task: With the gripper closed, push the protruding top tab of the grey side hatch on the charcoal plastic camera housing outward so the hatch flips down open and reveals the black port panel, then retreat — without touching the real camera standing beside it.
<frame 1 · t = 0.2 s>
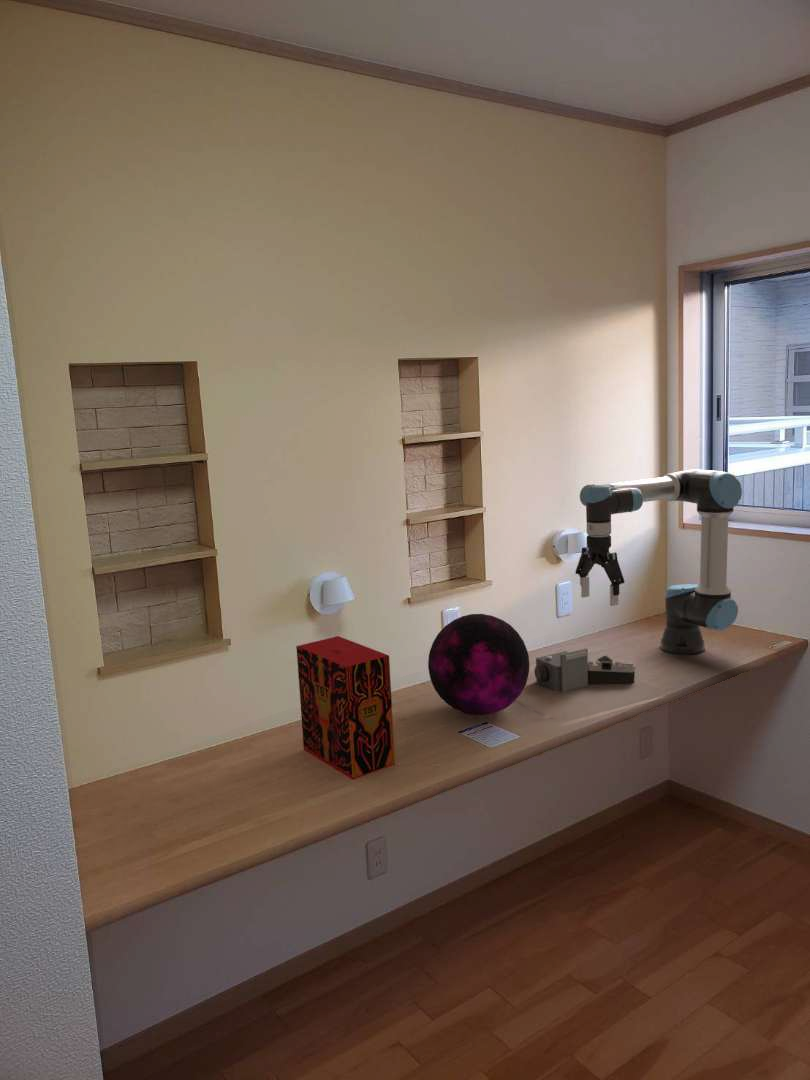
hand: (599, 600, 280), 28 cm above the counter, fingers open, 13 cm apart
housing: (561, 685, 286), on the counter
side door: (574, 671, 279), point 7 cm above the counter, hinge at 0.0°
box: (348, 757, 239), on the counter
purple mottled sphere: (480, 712, 267), on the counter
camera: (608, 686, 286), on the counter, touching housing
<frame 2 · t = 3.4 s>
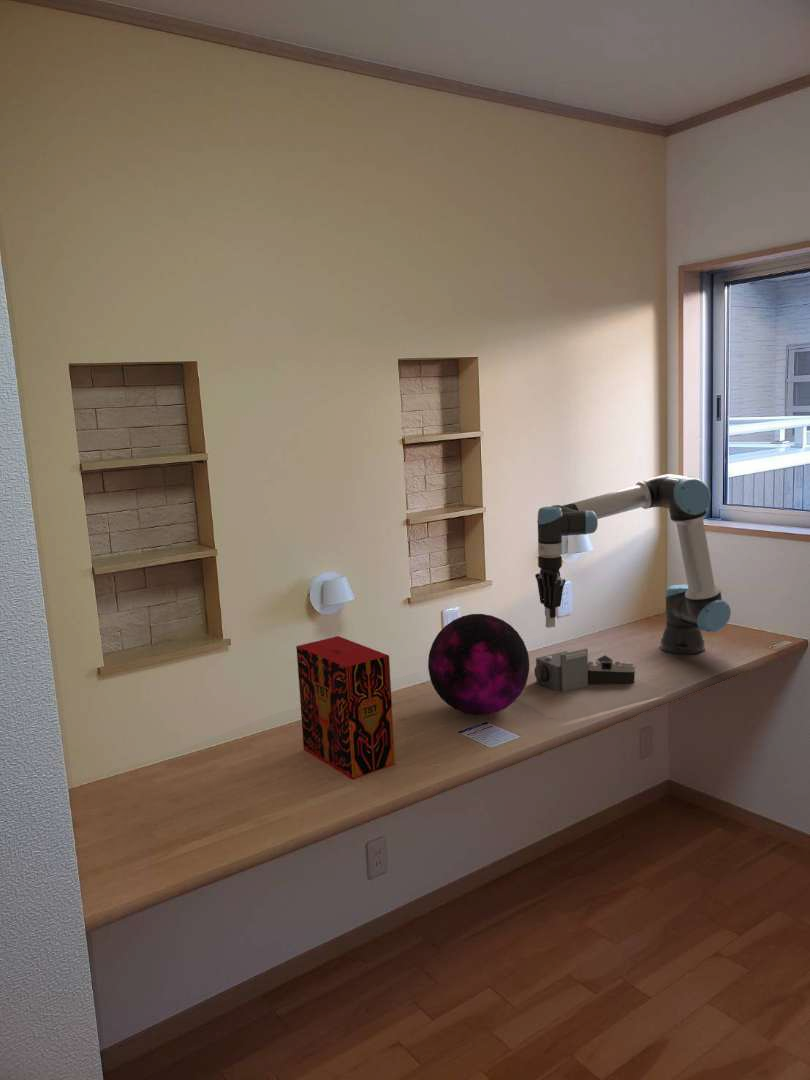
hand: (550, 626, 286), 19 cm above the counter, fingers closed
nothing on the counter moved.
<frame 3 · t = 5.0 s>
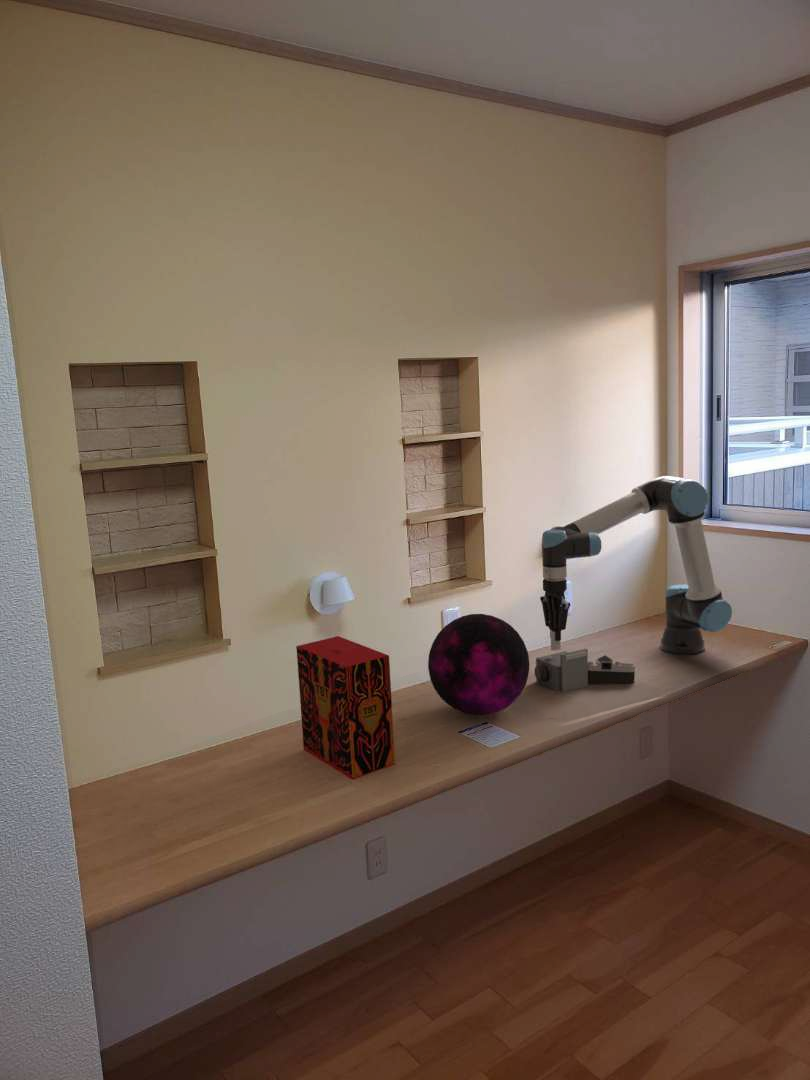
hand: (555, 649, 286), 11 cm above the counter, fingers closed
nothing on the counter moved.
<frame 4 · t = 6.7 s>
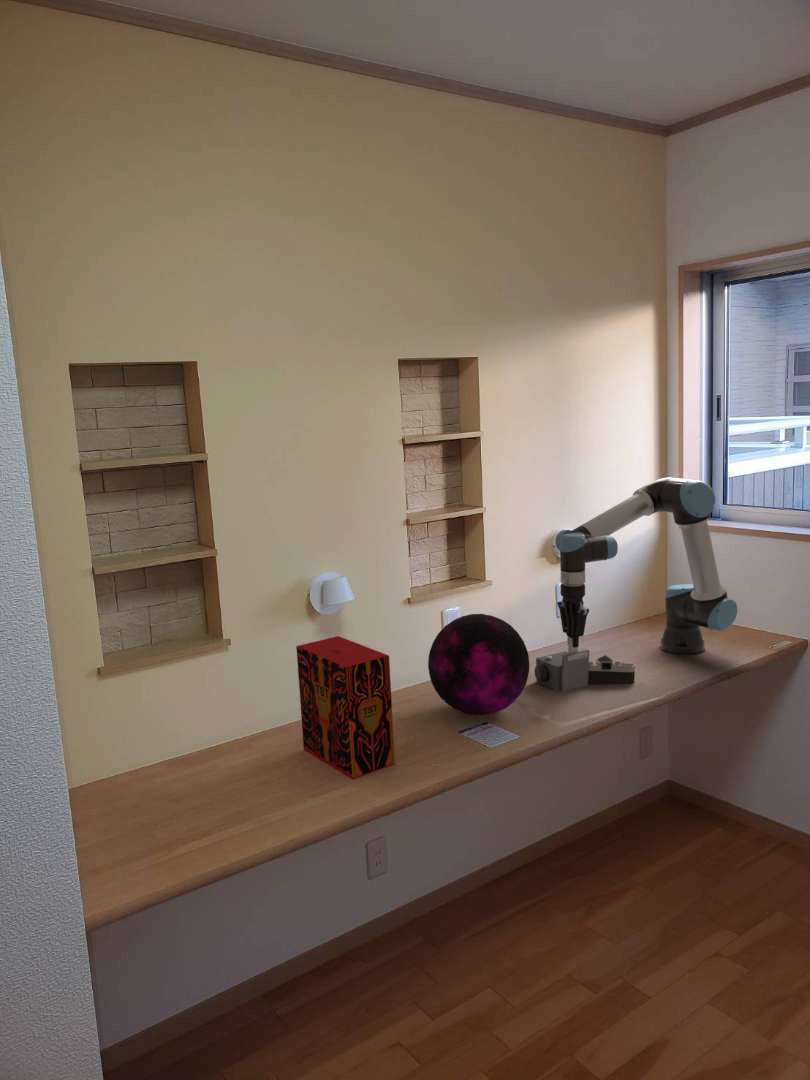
hand: (573, 656, 278), 11 cm above the counter, fingers closed
side door: (575, 671, 278), point 7 cm above the counter, hinge at 4.3°, touching gripper
everything else where it was.
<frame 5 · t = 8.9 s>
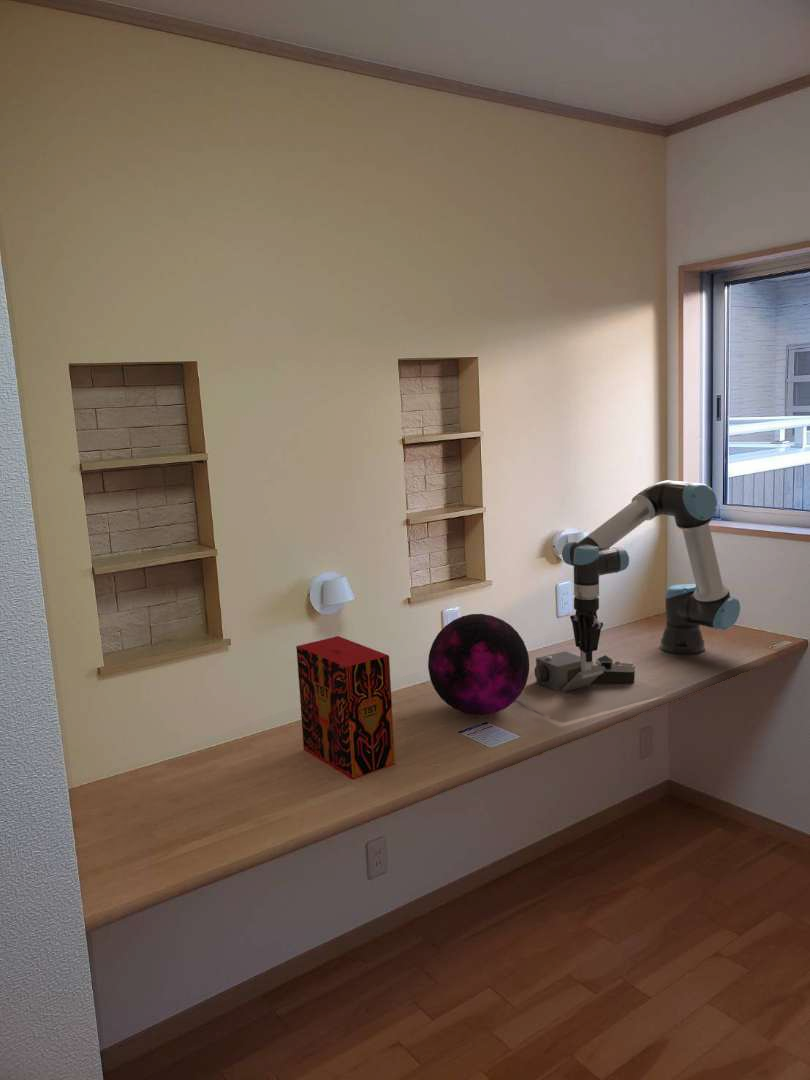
hand: (586, 671, 273), 8 cm above the counter, fingers closed
side door: (583, 680, 275), point 5 cm above the counter, hinge at 47.0°, touching gripper
everything else where it was.
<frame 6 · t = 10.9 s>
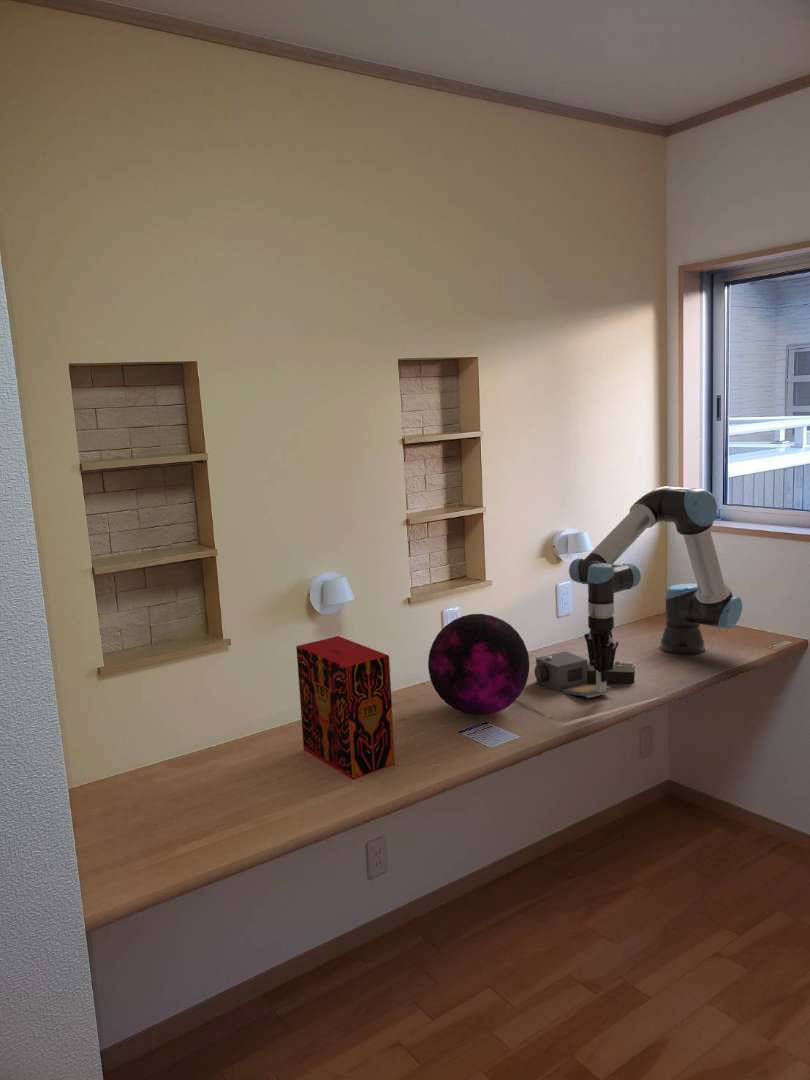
hand: (601, 690, 268), 4 cm above the counter, fingers closed
side door: (586, 690, 275), point 2 cm above the counter, hinge at 78.5°
everything else where it was.
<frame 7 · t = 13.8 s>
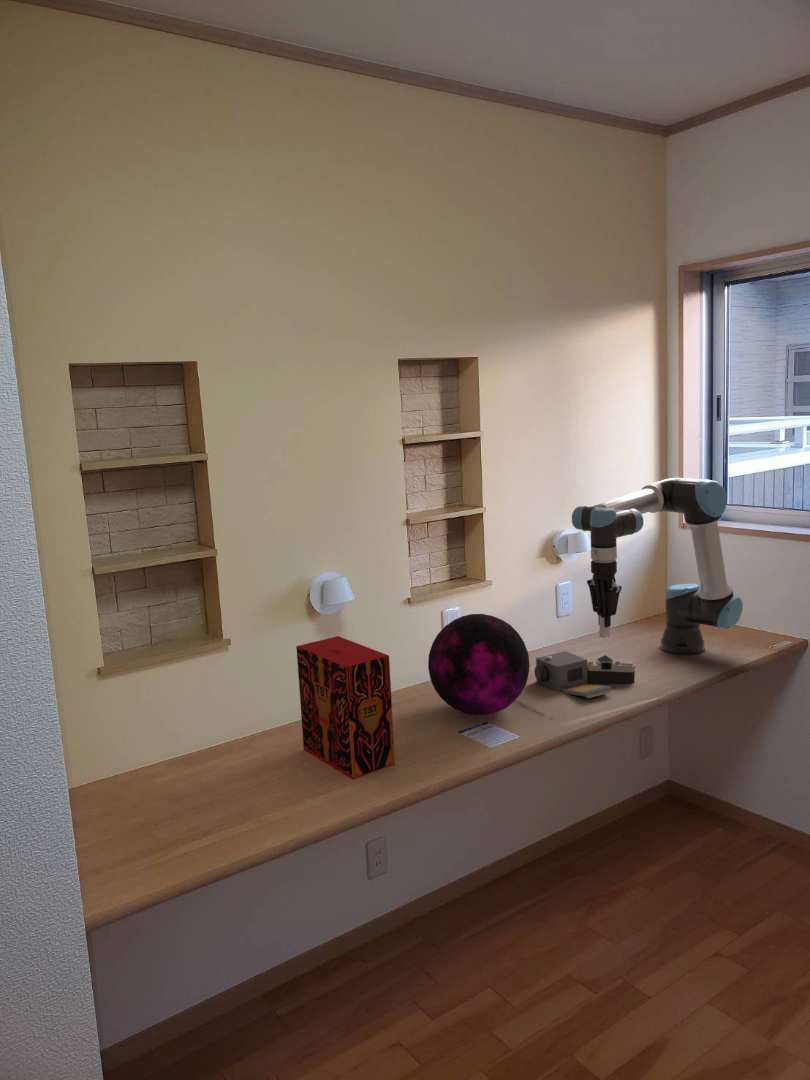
hand: (604, 636, 267), 21 cm above the counter, fingers closed
nothing on the counter moved.
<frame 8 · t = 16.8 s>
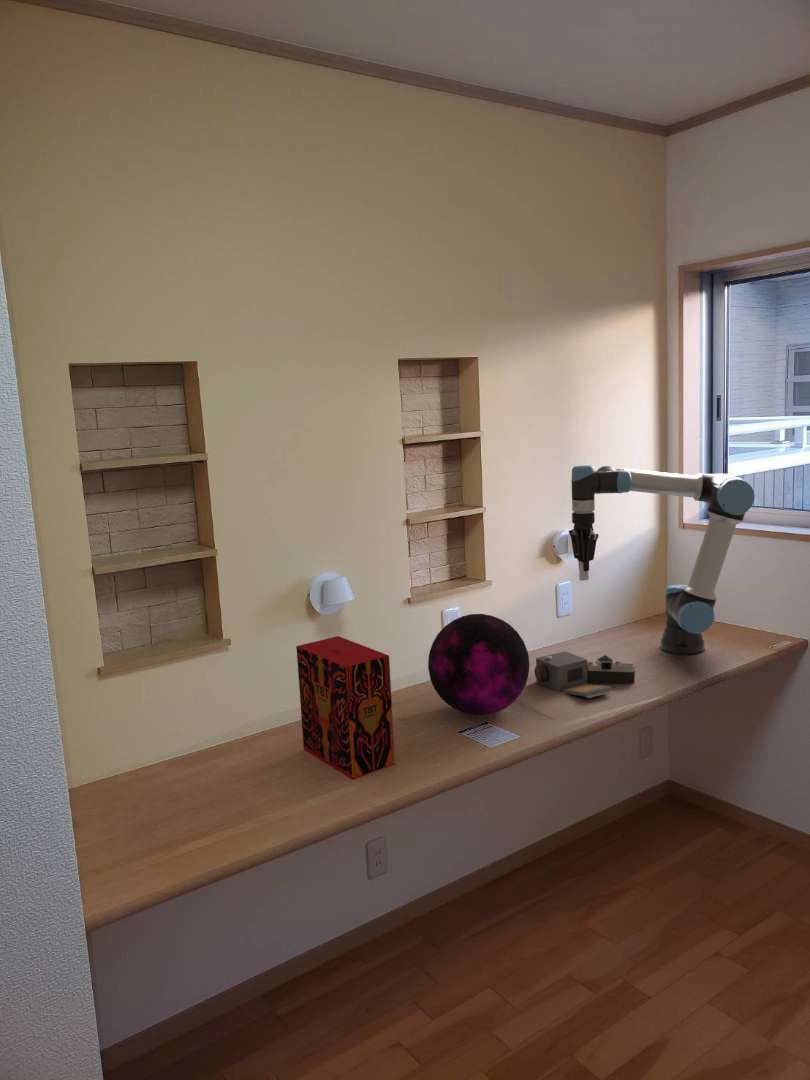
hand: (583, 579, 302), 29 cm above the counter, fingers closed
nothing on the counter moved.
at the end: side door at +79° (first picture: +0°) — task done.
